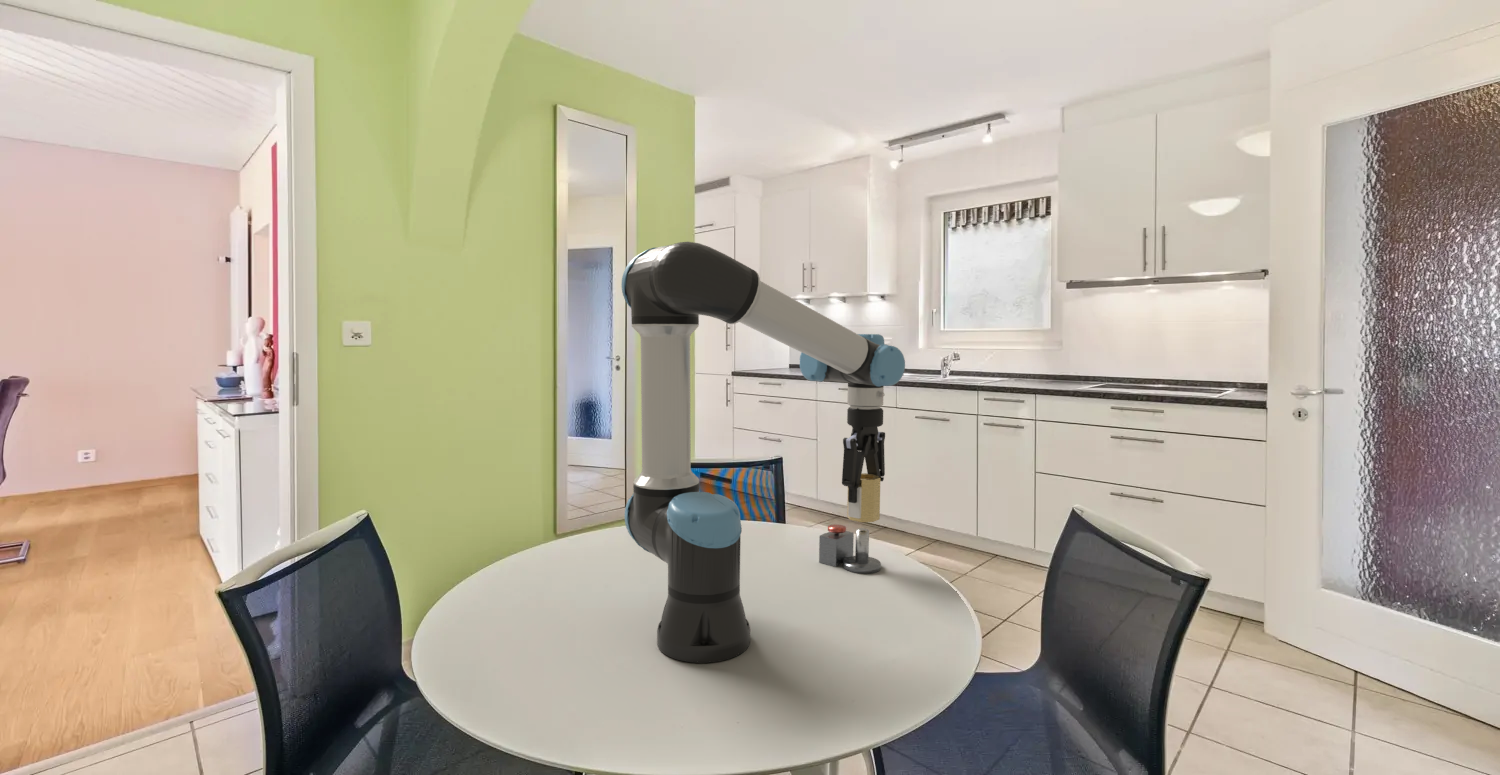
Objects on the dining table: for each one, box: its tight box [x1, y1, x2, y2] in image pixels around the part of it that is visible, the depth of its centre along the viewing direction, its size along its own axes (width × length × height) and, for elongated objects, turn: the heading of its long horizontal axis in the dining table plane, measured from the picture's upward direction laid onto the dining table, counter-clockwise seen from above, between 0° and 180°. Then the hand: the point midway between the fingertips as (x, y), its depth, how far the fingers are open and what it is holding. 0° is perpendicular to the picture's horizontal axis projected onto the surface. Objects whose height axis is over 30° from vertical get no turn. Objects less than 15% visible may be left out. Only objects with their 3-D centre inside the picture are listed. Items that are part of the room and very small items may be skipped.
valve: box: [818, 523, 882, 575], centre depth 148 cm, size 8×13×8 cm, turn 50°
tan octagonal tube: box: [846, 472, 881, 523], centre depth 146 cm, size 6×6×9 cm
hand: (863, 513), depth 146 cm, fingers closed on tan octagonal tube, 6 cm apart
